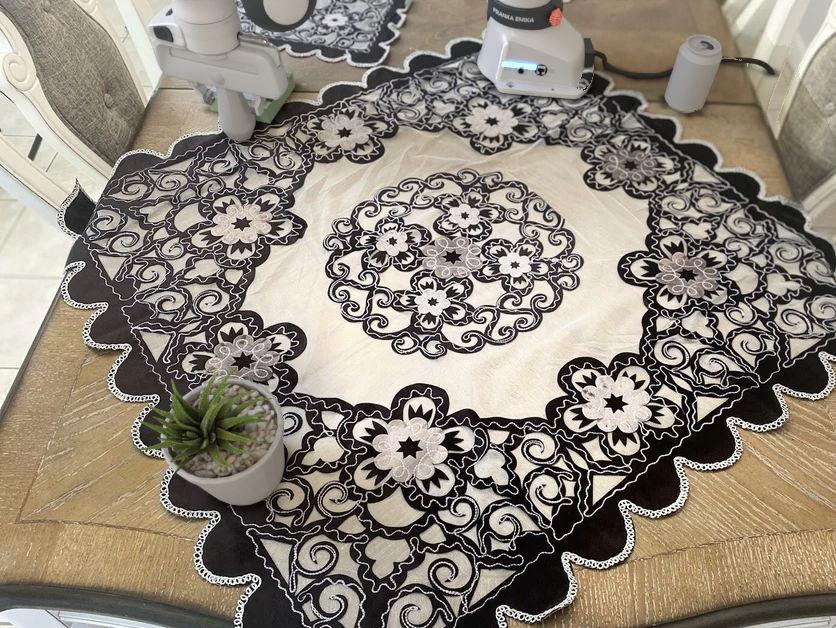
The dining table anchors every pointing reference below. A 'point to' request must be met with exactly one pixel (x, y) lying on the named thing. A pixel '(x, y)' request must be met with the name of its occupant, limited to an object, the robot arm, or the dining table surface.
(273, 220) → the dining table surface
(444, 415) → the dining table surface
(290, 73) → the kitchen scale
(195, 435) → the potted plant
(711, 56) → the can
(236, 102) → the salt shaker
